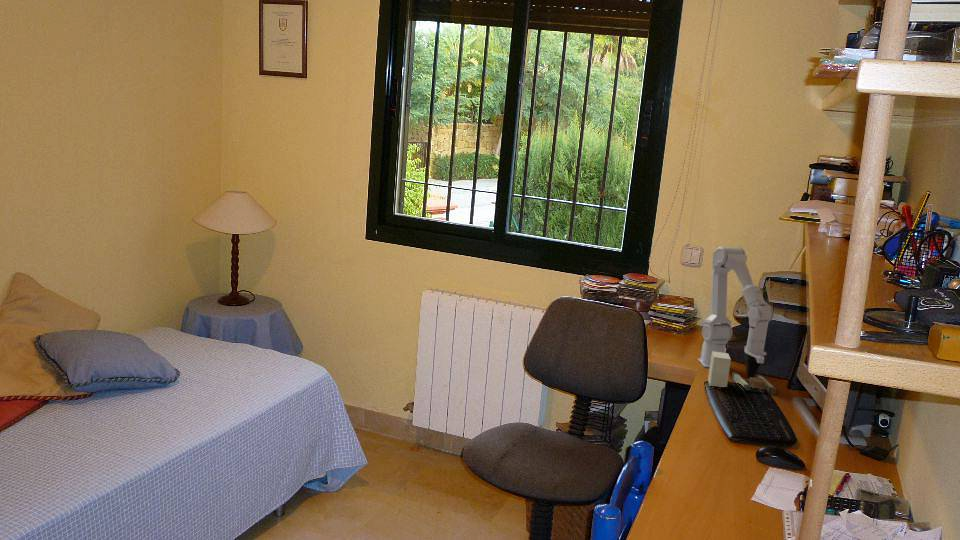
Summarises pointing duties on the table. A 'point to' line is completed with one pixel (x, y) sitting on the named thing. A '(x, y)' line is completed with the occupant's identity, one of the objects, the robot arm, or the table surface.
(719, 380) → the small box
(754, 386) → the walnut block
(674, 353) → the table surface
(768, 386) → the rail track
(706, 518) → the table surface
